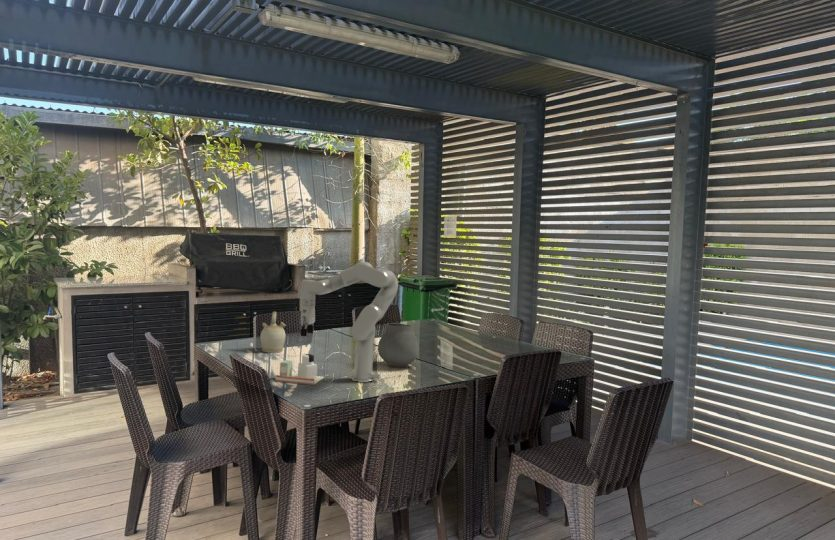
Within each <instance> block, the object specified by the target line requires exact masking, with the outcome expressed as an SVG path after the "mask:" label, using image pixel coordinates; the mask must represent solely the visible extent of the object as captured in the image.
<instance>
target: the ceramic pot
mask: <svg viewBox="0 0 835 540" xmlns="http://www.w3.org/2000/svg"><path fill="white" fill-rule="evenodd" d="M413 328H414V325H412V324H411V325H410V324H404V323H396V322H390V323H386V330H385V331H384V333H383V334H382V335H381V337H380V339H379V341H378V345H377V352H378V355H379V357H380V358H381V359H382V361H384V363H385V364H386V365H387V366H390V367H394V368H404V367H407V366H409V365H410V364H412V363H413V362H415V361H416V359H417V358H418V356H419V354H420V346H419V341H418V338H417V336H416V335H415V333H414V330H413Z"/></svg>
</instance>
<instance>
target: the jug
mask: <svg viewBox="0 0 835 540" xmlns="http://www.w3.org/2000/svg"><path fill="white" fill-rule="evenodd" d="M276 322H277V311H272V314H271V322H270V324H267V323H266V322H262V327H263V329H262V330H261V332H260V334H259V335H260V337H259V338H260V344H261V345H260V346H261V350H262V352H263V353H266V352H268V354H278V353H281V352H283V350H284V346H285V342H286V331H285V329H284V327H286V326H287V324H285V323H284V322H282V321H280V324H277V323H276Z"/></svg>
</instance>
